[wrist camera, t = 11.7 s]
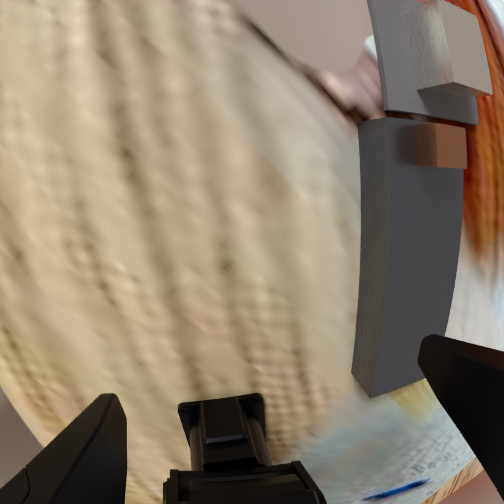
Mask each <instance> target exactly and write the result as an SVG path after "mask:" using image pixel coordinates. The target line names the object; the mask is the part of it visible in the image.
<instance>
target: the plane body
mask: <svg viewBox="0 0 504 504" xmlns="http://www.w3.org/2000/svg"><path fill="white" fill-rule="evenodd" d="M358 134H359V151H360V174H361V257H360V280H359V298H358V312H357V324H356V335H355V345H354V354H353V363H352V371H351V373H352V374H353V376H354V377H355V378H356V380H357V381H358V382H359V384H360V385H361V386H362V388H363V389H364V390H365V392H366V393H367V394H368V396H369V397H370V398H373V397H376V396H379V395H382V394H384V393H387V392H390V391H393V390H396V389H398V388H401V387H404V386H406V385H409V384H412V383H414V382H417V381H419V380H422V379H424V378H425V376H424V374H423V372H422V371H421V369H420V367H419V365H418V361H417V359H418V354H419V349H420V345H421V341H422V339H423V338H424V337H425V336H428V335H431V334H437V335H440V336H445V332H446V328H447V323H448V318H449V314H450V308H451V303H452V298H453V292H454V286H455V279H456V272H457V265H458V257H459V248H460V238H461V225H462V208H463V169H467V149H466V130H465V128H462V127H456V126H451V125H445V124H439V123H431V122H424V121H417V120H409V119H401V118H392V117H385V118H379V119H374V120H369V121H363V122H358Z"/></svg>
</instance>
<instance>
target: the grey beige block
mask: <svg viewBox="0 0 504 504" xmlns="http://www.w3.org/2000/svg"><path fill="white" fill-rule="evenodd" d="M403 15H404V20H405V24H406V29H407V34H408V39H409V44H410V49H411V55H412V61H413V68H414V74H415V82H416V90H419V91H424V92H428V93H433V94H437V95H441V96H445V97H449V98H453V99H462V98H470V97H479V96H488V95H493V93H492V86H491V79H490V73H489V68H488V63H487V58H486V53H485V48H484V44H483V40H482V36H481V32H480V28H479V24H478V21H477V17H476V16H474V15H472V14H470V13H469V12H467V11H465V10H463V9H461V8H459V7H457V6H455V5H453V4H450V3H448V2H446V1H444V0H428V1H426V2H425V3H423V4H421V5H419V6H417V7H415V8H413V9H411V10H410V11H408V12H406V13H404V14H403Z"/></svg>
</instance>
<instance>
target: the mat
mask: <svg viewBox="0 0 504 504" xmlns="http://www.w3.org/2000/svg"><path fill="white" fill-rule="evenodd" d="M367 3H368V8H369V12H370V17H371V22H372V27H373V33H374V38H375V44H376V50H377V57H378V63H379V71H380V78H381V86H382V95H383V105H384V110H385V111H394V112H402V113H409V114H416V115H423V116H429V117H435V118H441V119H447V120H452V121H457V122H462V123H467V124H471V125H479V121H478V111H477V102H476V97H470V98H462V99H453V98H449V97H445V96H441V95H437V94H433V93H428V92H424V91H419V90H416V82H415V74H414V68H413V61H412V55H411V49H410V44H409V39H408V34H407V29H406V24H405V20H404V15H403V14H404V13H406V12H408V11H410V10H411V9H413V8H415V7H417V6H419V5H421V4H422V3H419V2H416V1H413V0H367Z"/></svg>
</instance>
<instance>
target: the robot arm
mask: <svg viewBox="0 0 504 504" xmlns="http://www.w3.org/2000/svg"><path fill="white" fill-rule="evenodd" d="M417 361H418V365H419V367H420V369H421V371H422V372H423V374H424V376H425V378H426V379H427V381H428V383H429V385H430V386H431V388H432V390H433V392H434V394H435V395H436V397H437V399H438V400H439V402H440V403H441V405H442V406H443V408H444V409H445V411H446V412H447V414H448V415H449V416H450V418H451V419H452V421H453V422H454V424H455V425H456V427H457V428H458V430H459V431H460V433H461V434H462V436H463V437H464V439H465V440H466V442H467V443H468V445H469V446H470V448H471V449H472V451H473V452H474V454H475V455H476V457H477V458H478V460H479V462H480V463H481V465H482V466H483V468H484V469H485V471H486V473H487V474H488V476H489V477H490V479H491V481H492V482H493V484H494V486H495V487H496V488H497V491H498V492H499V494H500V496H501V498H502V499H503V501H504V351H500V350H495V349H491V348H487V347H483V346H479V345H475V344H471V343H467V342H464V341H460V340H456V339H452V338H448V337H444V336H440V335H437V334H431V335H428V336H425V337H424V338H423V339H422V341H421V345H420V349H419V354H418V359H417ZM255 399H258V400H255ZM183 408H185V409H183ZM178 413H179V416H180V420H181V423H182V426H183V429H184V432H185V435H186V438H187V441H188V444H189V447H190V452H191V468H192V471H179V470H178V469H170V478H167V481H166V482H164V483H163V504H327V503H326V500H325V498H324V495H323V494H322V492H321V491H320V489H319V488H318V486H317V485H316V484H315V482H314V481H313V479H312V478H311V477H310V475H309V474H308V472H307V471H306V469H305V468H304V466H303V465H302V464H301V462H300V461H299V460H298V461H292V462H291V463H286V464H279V465H272V461H271V458H270V455H269V452H268V448H267V445H266V433H265V419H264V405H263V398H262V395H261V394H259V393H253V394H247V395H241V396H234V397H227V398H220V399H212V400H204V401H195V402H185V403H180V404H179V405H178ZM126 478H127V420H126V415H125V413H124V410H123V408H122V406H121V403H120V401H119V398H118V396H117V395H116V394H114V393H104V394H101V395H99V396H98V397H97V398H96V399H95V400H94V401H93V402H92V403H91V404H90V405H89V406H88V407H87V408H86V409H85V410H84V411H83V412H82V413H81V414H79V415H78V416H77V417H76V418H75V419H74V420H73V421H72V422H71V423H70V424H69V425H68V426H67V427H66V428H65V429H64V430H63V431H62V432H61V433H60V434H59V435H57V436H56V437H55V438H54V439H53V440H52V441H51V442H50V443H49V444H48V445H47V446H46V447H45V448H44V449H43V450H42V451H41V452H40V453H39V454H38V455H37V456H36V457H34V458H33V459H32V460H31V461H30V462H29V463H28V464H27V465H26V468H23V469H22V470H21V471H20V472H19V473H18V474H16V475H15V476H14V477H13V478H12V479H11V480H10V481H9V482H8V483H7V484H5V485H4V486H3V487H2V488H0V504H125V490H126Z"/></svg>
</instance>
